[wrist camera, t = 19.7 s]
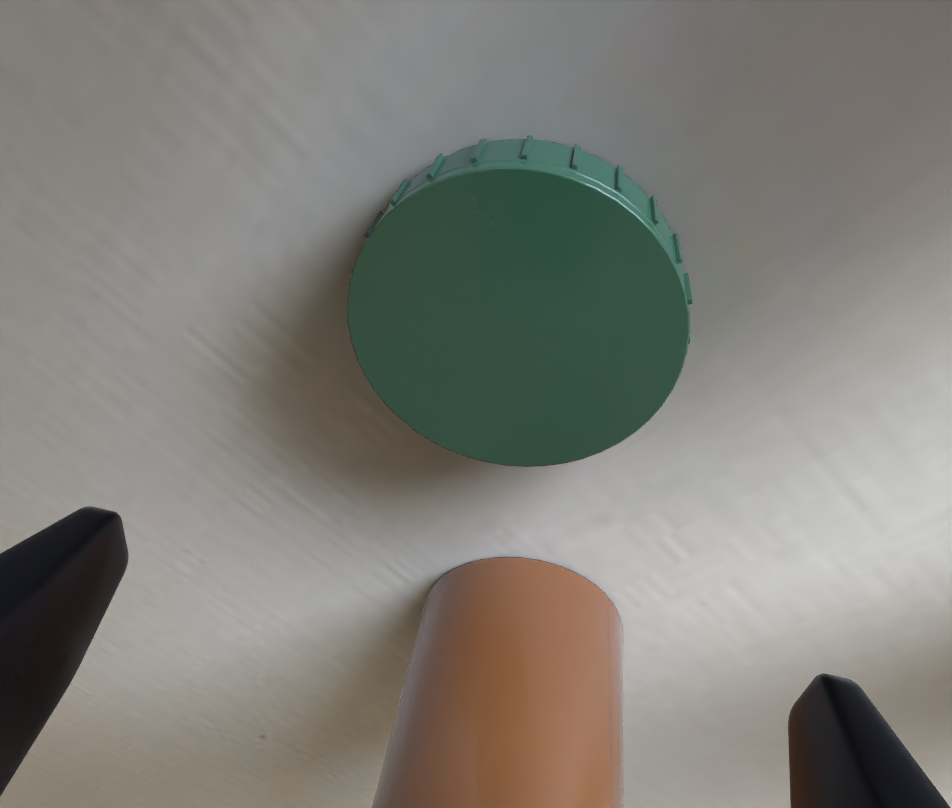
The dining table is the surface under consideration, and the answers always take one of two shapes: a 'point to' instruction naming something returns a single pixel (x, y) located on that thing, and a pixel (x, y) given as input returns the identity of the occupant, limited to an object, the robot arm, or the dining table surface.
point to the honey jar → (510, 694)
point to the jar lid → (521, 304)
